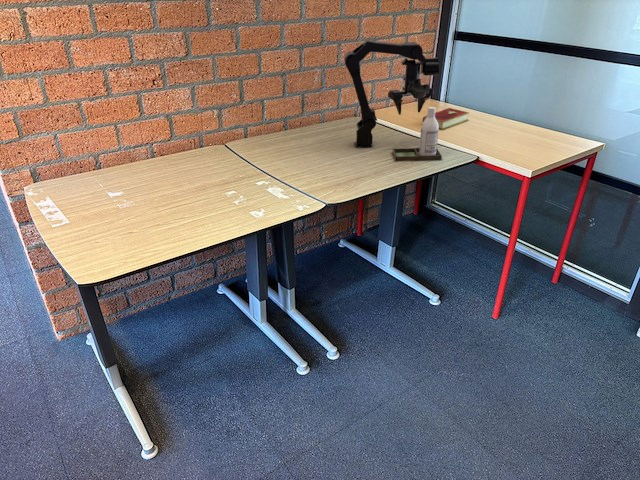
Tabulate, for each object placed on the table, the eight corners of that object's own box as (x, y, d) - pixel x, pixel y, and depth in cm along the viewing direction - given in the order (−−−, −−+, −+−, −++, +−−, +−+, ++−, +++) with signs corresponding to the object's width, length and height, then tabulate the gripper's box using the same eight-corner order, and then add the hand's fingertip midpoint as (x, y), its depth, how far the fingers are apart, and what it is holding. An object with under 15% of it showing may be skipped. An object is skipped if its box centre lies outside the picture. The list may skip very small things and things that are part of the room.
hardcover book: (422, 124, 237) (422, 115, 235) (447, 115, 249) (448, 107, 247) (442, 129, 229) (443, 121, 227) (468, 120, 241) (469, 111, 239)
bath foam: (439, 156, 201) (444, 107, 191) (428, 160, 197) (433, 111, 187) (426, 151, 206) (430, 104, 195) (415, 155, 202) (419, 107, 192)
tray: (395, 161, 197) (396, 156, 196) (392, 152, 205) (392, 148, 204) (441, 159, 197) (441, 155, 196) (436, 151, 205) (436, 147, 205)
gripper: (401, 82, 190) (398, 121, 198) (442, 77, 195) (438, 116, 203) (388, 76, 199) (386, 114, 207) (428, 72, 204) (424, 109, 212)
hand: (409, 113), depth 207 cm, fingers open, 9 cm apart
